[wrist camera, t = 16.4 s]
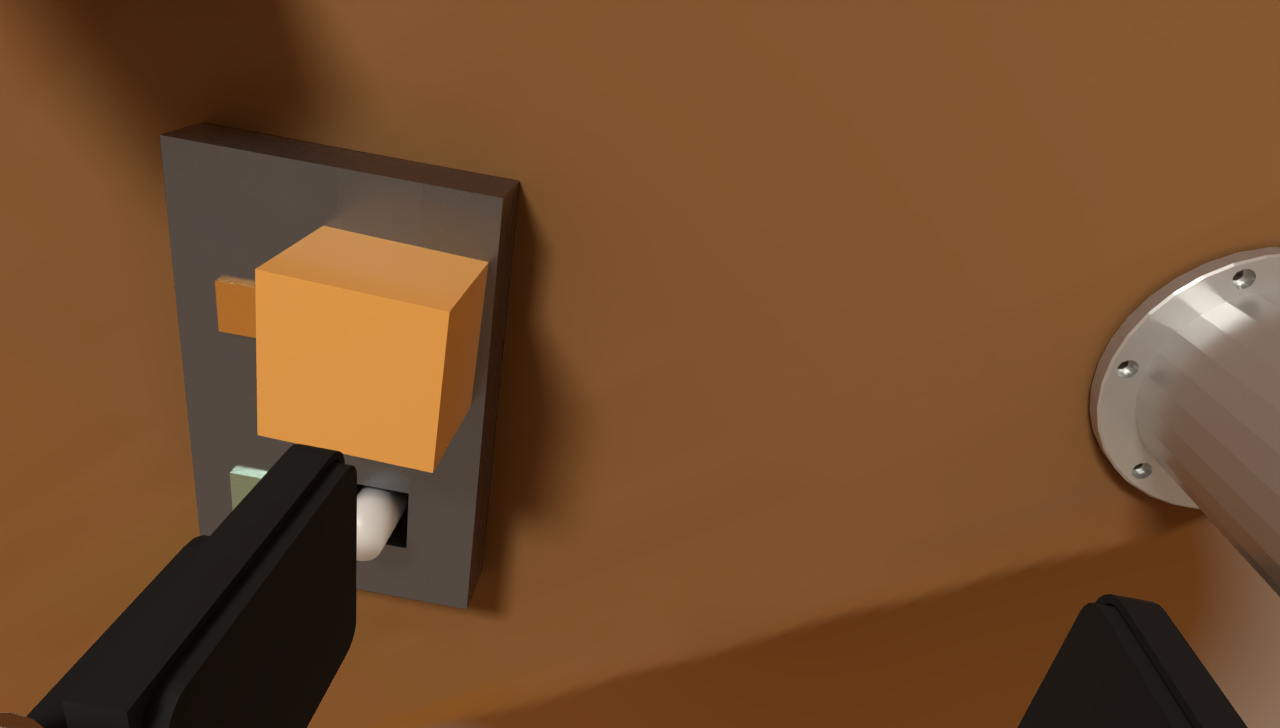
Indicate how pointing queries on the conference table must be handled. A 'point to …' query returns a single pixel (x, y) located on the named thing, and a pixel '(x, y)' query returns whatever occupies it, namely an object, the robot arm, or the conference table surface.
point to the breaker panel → (226, 324)
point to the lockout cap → (367, 346)
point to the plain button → (377, 519)
